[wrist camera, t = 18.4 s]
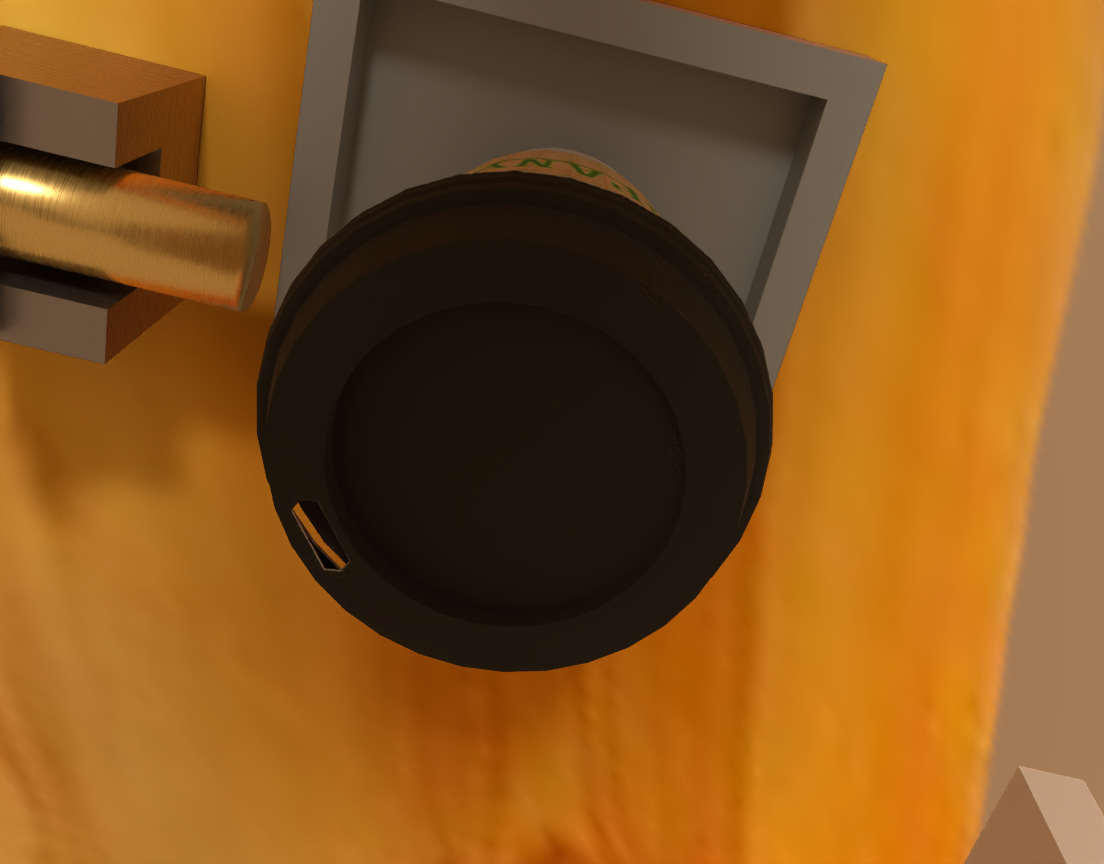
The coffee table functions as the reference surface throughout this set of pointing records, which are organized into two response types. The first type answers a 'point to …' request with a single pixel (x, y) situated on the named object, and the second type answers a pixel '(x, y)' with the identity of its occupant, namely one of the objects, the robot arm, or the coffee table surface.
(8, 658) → the coffee table surface
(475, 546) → the coffee cup
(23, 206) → the lock pin
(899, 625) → the coffee table surface
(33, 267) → the pin mount
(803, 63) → the grey square tray
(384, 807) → the coffee table surface
